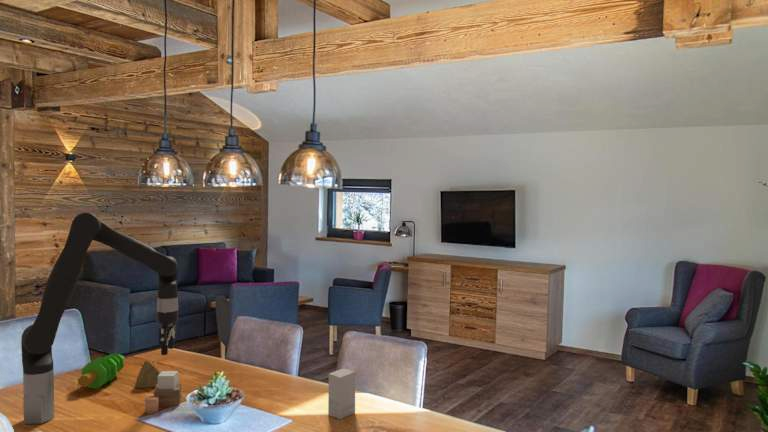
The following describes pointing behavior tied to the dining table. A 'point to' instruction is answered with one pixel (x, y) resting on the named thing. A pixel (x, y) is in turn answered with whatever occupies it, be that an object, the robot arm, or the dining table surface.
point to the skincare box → (341, 393)
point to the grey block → (167, 379)
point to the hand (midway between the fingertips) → (167, 351)
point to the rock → (147, 376)
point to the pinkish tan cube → (151, 405)
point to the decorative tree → (101, 371)
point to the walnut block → (168, 395)
